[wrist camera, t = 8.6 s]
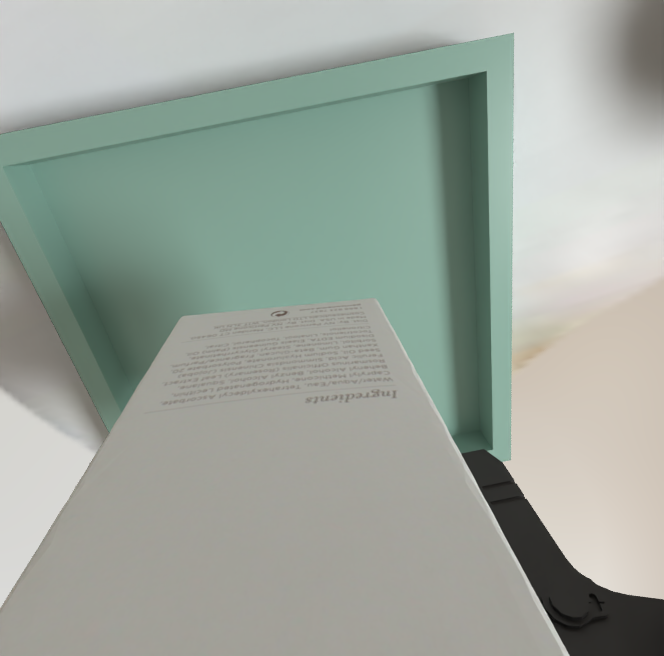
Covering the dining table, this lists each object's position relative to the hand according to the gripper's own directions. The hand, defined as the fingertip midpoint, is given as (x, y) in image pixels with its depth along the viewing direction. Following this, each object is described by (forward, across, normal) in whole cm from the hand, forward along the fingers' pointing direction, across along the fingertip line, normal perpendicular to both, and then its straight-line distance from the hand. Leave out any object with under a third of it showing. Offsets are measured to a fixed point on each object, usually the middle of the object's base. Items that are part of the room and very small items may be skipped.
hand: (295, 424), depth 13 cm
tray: (+9, 0, 0) cm, 9 cm away
